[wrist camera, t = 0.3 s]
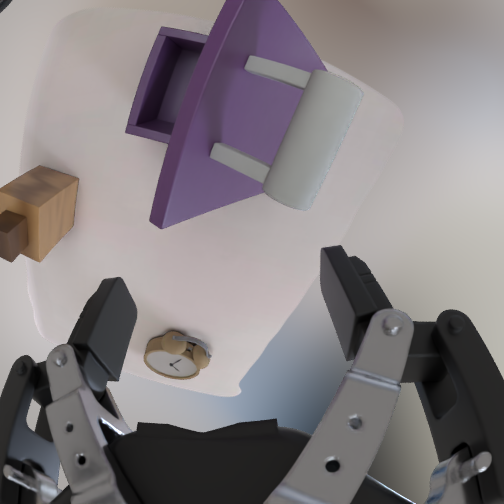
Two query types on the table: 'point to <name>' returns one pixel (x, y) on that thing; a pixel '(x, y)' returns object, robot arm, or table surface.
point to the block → (12, 235)
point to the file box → (164, 83)
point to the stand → (42, 207)
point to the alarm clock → (176, 356)
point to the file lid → (253, 118)
